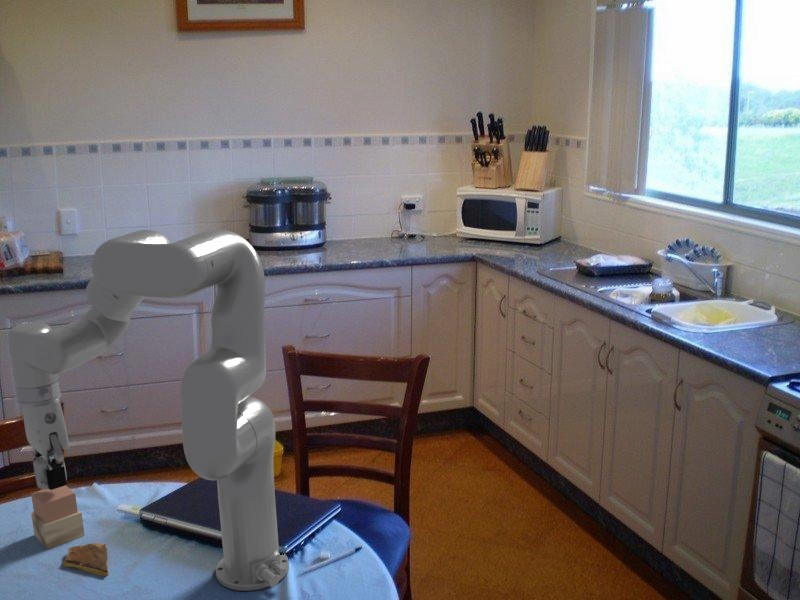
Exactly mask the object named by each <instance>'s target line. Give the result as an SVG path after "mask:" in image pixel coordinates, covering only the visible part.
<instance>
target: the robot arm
mask: <svg viewBox="0 0 800 600" xmlns="http://www.w3.org/2000/svg"><path fill="white" fill-rule="evenodd" d="M91 274H92V276H93V277H92V278H91V279H90V281H89V282H88V283H87V285H86V288H85V289H86V290H85V295H86V298H87V301H88V303H89V305H90V306H91V308H90V309H89V310H88V311H87V312H86V313H85V314H84V315H83V316H82V317H81V318H80V319H77V320H75V321H73V322H70V323H67V324H65V325H63V326H59V327H58V328H56V329H52V328H51V326H50V325H49V324H46V323H45V322H35V321H34V322H27V323H22V324H19V325H15V326H14V327H11V329H10V330H9V331H8V333H7V346H8V351H9V358H10V365H11V370H12V376H13V383H14V390H15V391H14V392H15V398H16V401H17V402H16V403H17V404H18V405H20V406H21V408H22V417H23V425H24V430H25V436H26V440H27V443H28V444H29V445H30V447H32V456H33V462H34V461H35V459H36V458H38V457H40V456H42V455H44V457H45V461H46V465H47V469H46V476H47V483H48V488H49V489H50V490H53V489H56V488H59V487H62V486H65V485H66V486H67V480H66V475H65V468H66V467H65V468H64V463H65V461H64V459H65V454H64V452H63V450H64V451H68V450H69V449H70V444H69V443H70V442H69V441H70V440H69V436H68V430H67V426H66V420H65V417H64V412H63V409H62V404H61V402H60V398H61V397H62V390H61V384H60V375H61V374H64V373H66V372H69V371H71V370H74V369H75V368H78V367H79V366H81V365H83V364H85V363H88V362H90V361H91V360H93V359H96V358H98V357H99V356H101V355H103V354H104V353H105V352H106V351H107V350H108V349H110V348H111V347H112V345H113V344H114V343H115V342H116V341H117V340H118V339H119V338H120V337H121V336H122V335H123V333H124V332H125V331H126V329H127V328H128V327H129V324H130V321H131V317H132V313H133V311H134V310H135V309H136V308H137V306H138V305H140V303H141V302H142V301H143V300H144V299H145V298H146V297H148V298H158V299H160V298H162V299H183V298H188V297H190V296H191V297H192V296H194V295H196V294H199V293H201V292H203V291H205V290H207V289H209V288H212V287H214V286H216V293H215V296H214V297H215V298H214V301H213V305H212V309H211V317H210V321H211V323H210V324H211V325H210V326H211V346H210V349H208V351H207V352H206V353H203V354H202V355H201V356H199V357H198V358H196V359H195V360H193V361H192V362H191V363H190V364H189V365H188V367H187V368H186V369H185V372H184V374H183V375H182V379H181V384H180V385H181V386H180V408H181V409H180V410H181V412H180V413H181V430H182V431H181V432H182V446H183V451H184V452H183V453H184V455H185V456H184V457H185V459H186V462H187V463H188V465H189V467H190V468H191V470H192V471H193V473H194V474H196V475H197V476H198V477H200V478H202V479H204V480H207V481H216V483H217V485H216V487H217V498H218V499H217V501H218V508H219V509H218V510H219V521H220V529H221V530H220V531H221V544H222V555H223V557H222V558H221V559H220V560H219V562H218V563H217V564H216V567H215V576H216V579H217V581H218V582H219V584H221V585H222V586H223V587H225V588H228V589H229V590H234V591H241V592H245V591H246V592H247V591H257V590H263V589H265V588H268V587H271V588H274V587H276V586H277V585H278V584H279V582H280V581H281V580H283V579H284V578H285V577H286V575H287V573H288V572H289V570H290V561H289V557H288V556H287V554H286V553H284V555H283V554H282V555H280V553H279V550H280V547H279V534H278V522H277V521H278V519H277V508H276V507H277V505H276V495H275V494H276V492H275V490H276V489H275V475H274V474H275V473H274V454H275V453H274V452H275V444H276V424H275V423H276V422H275V418H274V415H273V413H272V410H271V409H270V408H269V407H268V405H267V404H266V403H265V402H264V401H262V400H261V399H258V398H257V397H252V396H251V395H253V394H254V393H255V392H256V391H258V390H259V389H260V388H261V387H262V385H264V384H263V383H264V382H265V380H266V376H267V353H266V352H267V349H266V346H267V345H266V344H267V343H266V322H265V321H266V320H265V319H266V318H265V314H266V313H265V305H266V304H265V303H266V300H265V299H266V279H265V271H264V266H263V264H262V260H261V258H260V256H259V254H258V252H257V251H256V249H255V247H253V246H252V244H251V243H250V242H249V241H248V240H247V239H245V237H243V236H242V235H240V234H238V233H235V232H233V231H230V230H226V229H211V230H207V231H203V232H200V233H197V234H195V235H192V236H189V237H185V238H183V239H180V240H178V241H174V242H171V240H170V239H169V238H168V237H167V236H166V235H165V234H163V233H162V232H159V231H157V230H152V229H142V230H136V231H133V232H130V233H126V234H123V235H120V236H117V237H113V238H111V239H108V240H106V241H104V242H102V244H100V245H99V246H98V248H97V249H96V250H95V251H94V254H93V255H92V259H91ZM51 450H52V451H51ZM52 455H54V458H53V459H52V460H51V461H50V457H49V456H52Z"/></svg>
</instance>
